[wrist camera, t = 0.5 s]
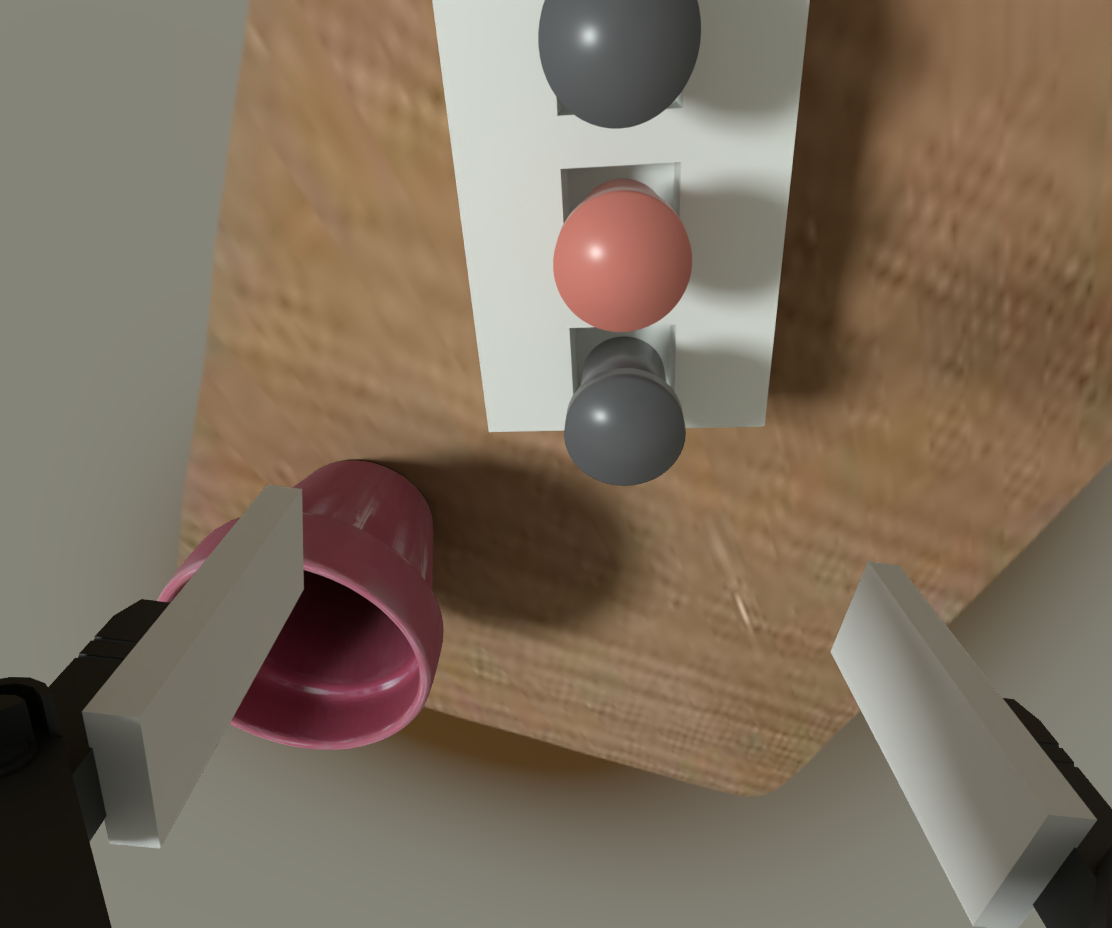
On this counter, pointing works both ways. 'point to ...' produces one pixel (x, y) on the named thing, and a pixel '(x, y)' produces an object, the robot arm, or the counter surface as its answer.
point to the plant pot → (347, 615)
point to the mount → (634, 153)
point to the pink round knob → (622, 257)
